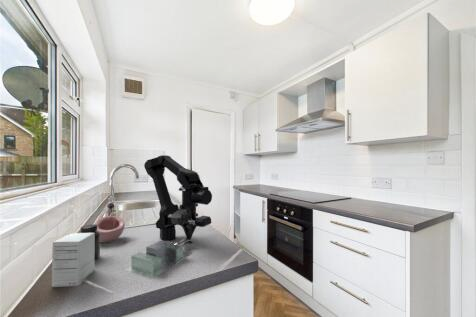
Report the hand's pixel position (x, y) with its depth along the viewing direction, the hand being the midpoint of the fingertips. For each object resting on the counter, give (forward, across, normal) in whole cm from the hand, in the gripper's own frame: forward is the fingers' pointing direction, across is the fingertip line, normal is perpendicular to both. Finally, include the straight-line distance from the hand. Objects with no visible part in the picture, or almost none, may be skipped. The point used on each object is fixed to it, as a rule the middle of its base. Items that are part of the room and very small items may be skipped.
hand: (188, 239), depth 82 cm
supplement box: (+3, -16, -33) cm, 37 cm away
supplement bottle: (+3, -26, -24) cm, 35 cm away
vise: (+3, 0, -14) cm, 14 cm away
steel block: (+2, 0, -16) cm, 16 cm away
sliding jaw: (+2, 0, -7) cm, 8 cm away
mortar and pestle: (+3, -37, -10) cm, 38 cm away
